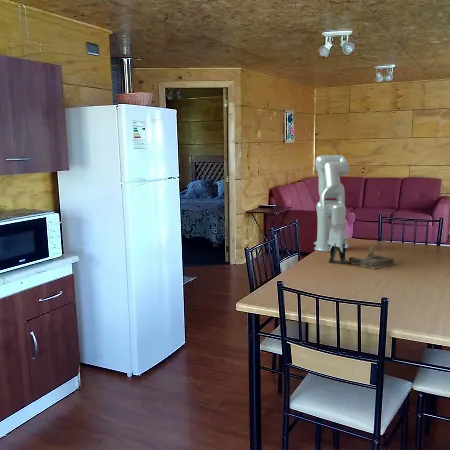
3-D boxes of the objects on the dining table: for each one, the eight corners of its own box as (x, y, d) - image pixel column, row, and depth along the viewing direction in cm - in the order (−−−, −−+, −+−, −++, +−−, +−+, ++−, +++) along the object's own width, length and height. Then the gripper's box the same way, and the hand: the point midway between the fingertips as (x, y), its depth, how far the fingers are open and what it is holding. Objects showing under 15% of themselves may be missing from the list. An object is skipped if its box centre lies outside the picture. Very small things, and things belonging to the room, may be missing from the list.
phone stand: (346, 261, 271) (346, 241, 269) (344, 264, 266) (345, 243, 264) (330, 260, 275) (331, 240, 273) (328, 263, 269) (329, 242, 267)
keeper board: (348, 262, 269) (349, 250, 268) (370, 258, 279) (371, 246, 277) (373, 269, 254) (374, 256, 253) (396, 264, 263) (396, 252, 262)
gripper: (322, 225, 272) (322, 255, 275) (344, 229, 257) (343, 261, 260) (332, 223, 276) (331, 253, 279) (354, 228, 261) (353, 259, 264)
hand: (337, 256), depth 270 cm, fingers open, 7 cm apart
